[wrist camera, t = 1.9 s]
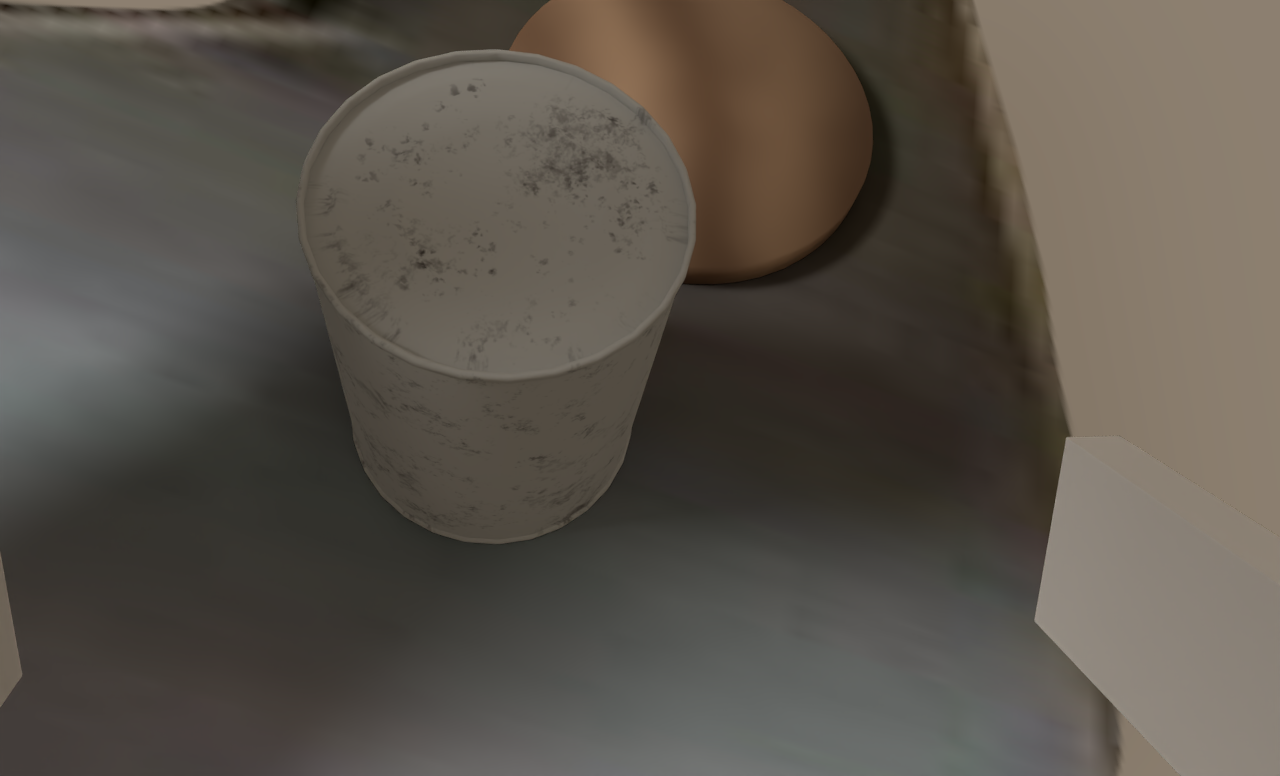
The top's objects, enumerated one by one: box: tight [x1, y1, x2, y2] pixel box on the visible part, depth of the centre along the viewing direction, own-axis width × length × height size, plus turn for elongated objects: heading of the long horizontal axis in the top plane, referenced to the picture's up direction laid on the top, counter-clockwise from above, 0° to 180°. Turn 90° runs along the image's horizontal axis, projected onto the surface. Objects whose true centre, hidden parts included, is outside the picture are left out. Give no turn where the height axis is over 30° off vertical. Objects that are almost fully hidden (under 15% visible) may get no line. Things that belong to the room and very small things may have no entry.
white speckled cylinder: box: [296, 49, 696, 544], centre depth 31 cm, size 10×10×12 cm
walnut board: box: [509, 0, 873, 284], centre depth 42 cm, size 15×15×1 cm
